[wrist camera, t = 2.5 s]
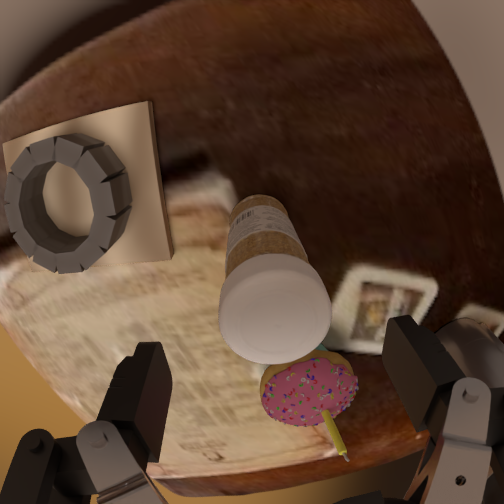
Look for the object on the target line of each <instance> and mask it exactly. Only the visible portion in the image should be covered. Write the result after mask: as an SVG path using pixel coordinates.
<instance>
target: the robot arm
mask: <svg viewBox="0 0 504 504" xmlns="http://www.w3.org/2000/svg"><path fill="white" fill-rule="evenodd" d="M382 359H383V364H384V367H385V369H386V371H387V373H388V375H389V377H390V379H391V381H392V383H393V385H394V387H395V389H396V391H397V393H398V395H399V397H400V399H401V401H402V403H403V405H404V407H405V409H406V411H407V413H408V415H409V417H410V419H411V422H412V424H413V426H414V428H415V430H416V432H420V431H423V430H426V429H428V431H429V433H430V435H429V437H428V440H427V443H426V446H425V449H424V452H423V455H422V458H421V461H420V464H419V467H418V469H417V472H416V475H415V477H414V480H413V482H412V484H411V486H410V488H409V489H408V491H407V493H406V495H405V497H404V499H397V498H383V497H382V494H381V491H380V490H378V491H375V492H371V493H367V494H363V495H359V496H355V497H350V498H346V499H343V500H341V501H338V502H336V503H334V504H481V502H482V498H483V500H484V504H504V344H503V343H502V342H501V341H500V340H499V339H498V338H497V337H496V336H495V335H494V333H493V332H492V331H491V330H490V329H489V328H488V327H487V326H486V325H485V324H484V323H481V324H478V323H476V322H475V321H474V320H471V319H459V320H456V321H453V322H451V323H449V324H447V325H446V326H444V327H443V328H441V329H440V330H439V331H438V332H436V333H435V334H434V333H433V332H432V331H430V330H429V329H427V328H426V327H424V326H418V325H417V323H416V322H415V321H414V319H413V318H412V317H411V316H410V315H404V316H399V317H393V318H390V319H389V320H388V323H387V328H386V334H385V339H384V344H383V350H382ZM109 386H110V388H108V390H107V393H106V395H105V398H104V401H103V403H102V406H101V409H100V411H99V414H98V417H97V419H96V421H93V422H90V423H88V424H86V425H85V426H84V427H83V428H82V429H81V430H80V431H79V433H78V435H77V436H73V437H66V438H57V439H54V437H53V436H52V435H51V434H50V433H49V432H48V431H46V430H44V429H34V430H31V431H29V432H27V433H26V434H25V435H24V436H23V437H22V438H21V440H20V442H19V444H18V447H17V449H16V452H15V454H14V457H13V459H12V462H11V465H10V468H9V470H8V473H7V476H6V478H5V481H4V484H3V487H2V490H1V493H0V504H90V500H91V495H92V494H99V497H97V503H98V504H168V502H167V501H166V500H165V498H164V497H163V496H162V494H161V493H160V492H159V490H158V488H157V487H156V486H155V484H154V483H153V481H152V480H151V478H150V477H149V475H148V474H147V472H146V468H147V463H148V462H154V463H159V458H160V452H161V446H162V440H163V435H164V429H165V424H166V418H167V413H168V408H169V403H170V398H171V393H172V375H171V371H170V368H169V365H168V362H167V359H166V356H165V353H164V350H163V347H162V344H161V343H160V342H139V343H138V345H137V347H136V350H135V352H134V355H133V356H126V357H125V358H124V359H123V360H122V362H121V363H120V364H119V365H118V366H117V368H116V370H115V373H114V375H113V379H112V380H111V383H110V385H109Z"/></svg>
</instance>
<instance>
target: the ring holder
mask: <svg viewBox="0 0 504 504" xmlns="http://www.w3.org/2000/svg"><path fill="white" fill-rule="evenodd" d="M3 151H4V158H5V164H6V170H7V176H8V177H7V183H6V189H5V195H4V200H5V201H7V202H9V203H7V204H5V205H4V207H5V211H6V215H7V219H8V223H9V227H10V231H11V232H15V231H17V232H16V233H15V235H14V236H13V237H14V239H15V240H16V242H17V243H18V244H19V246H20V247H21V248H22V250H23V251H24V252H25V254H26V255H27V258H28V261H29V264H30V267H31V270H32V272H41V271H52V272H54V273H55V272H56V271H57V270H58V273H59V274H64V273H76V272H83V271H84V270H87V269H88V268H89V267H97V266H109V265H120V264H131V263H142V262H154V261H165V260H171V259H172V257H173V255H174V251H173V246H172V241H171V235H170V229H169V224H168V218H167V212H166V205H165V199H164V193H163V186H162V179H161V172H160V165H159V158H158V150H157V142H156V134H155V125H154V116H153V106H152V102H150V101H145V102H140V103H135V104H131V105H126V106H122V107H118V108H113V109H109V110H105V111H101V112H97V113H94V114H90V115H86V116H83V117H79V118H76V119H72V120H69V121H66V122H62V123H59V124H56V125H53V126H50V127H47V128H44V129H41V130H38V131H35V132H32V133H30V134H27V135H24V136H22V137H19V138H16V139H14V140H11V141H9V142H6V143H4V144H3Z"/></svg>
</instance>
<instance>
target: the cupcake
mask: <svg viewBox="0 0 504 504" xmlns="http://www.w3.org/2000/svg"><path fill="white" fill-rule="evenodd" d="M357 381H358V380H357V376H354V373H353V370H352V368H351V365H350V364H349V362H348V361H347V360H346V359H344V358H343V357H342V356H341V355H340V354H338V353H335V352H331V351H328V350H327V349H326V348H325V347H324V346H323V345H322V344H321V343H320V344H319V345H318V346H317V347H316V348H315V349H314V350H313V351H311V352H310V353H308V354H307V355H305V356H303V357H301V358H299V359H297V360H295V361H292V362H288V363H283V364H272V365H271V366H269V367H268V368H267V369H266V370H265V372H264V374H263V376H262V378H261V383H260V396H261V402H262V405H263V407H264V409H265V411H266V412H267V414H268V415H269V416H270V417H271V418H274V419H275V420H276V419H277V420H279V421H280V422H284V424H286V423H287V424H290V425H294V426H304V427H307V426H311V425H318V424H319V423H322V422H325V423H326V425H327V428H328V430H329V432H330V435H331V437H332V439H333V442H334V444H335V446H336V449H337V451H338V453H339V455H343V456H344V457H345V460H346V461H349V459H348V458H347V455H346V454H345V453H346V452H347V450H346V448H345V445H344V443H343V441H342V439H341V437H340V434H339V432H338V430H337V428H336V426H335V423H334V421H333V419H332V418H335V417H336V415H337V414H340V413H341V412H342V411H344V410H345V408H346V407H347V406H348V405H349V406H350V403H349V402H351V401H352V400H353V399H354V397H355V394H356V392H355V391H356V390H358V389H357V388H358V386H357V385H358V384H357ZM349 406H348V407H349ZM277 420H276V421H277Z"/></svg>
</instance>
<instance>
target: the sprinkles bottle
mask: <svg viewBox="0 0 504 504" xmlns="http://www.w3.org/2000/svg"><path fill="white" fill-rule="evenodd" d="M229 225H230V230H229V235H228V243H227V252H226V262H225V273H226V280H225V282H224V284H223V287H222V289H221V294H220V301H219V328H220V331H221V334H222V337H223V339H224V340H225V342H226V343H227V344H228V346H229V347H230V348H231V349H232V350H233V351H234V352H235V353H237V354H238V355H240V356H241V357H243V358H245V359H247V360H249V361H252V362H256V363H261V364H283V363H288V362H292V361H295V360H297V359H299V358H301V357H303V356H305V355H307V354H308V353H310V352H311V351H313V350H314V349H315V348H316V347H317V346H318V345H319V344H320V343H321V342H322V340H323V339H324V338H325V336H326V334H327V332H328V330H329V327H330V324H331V319H332V306H331V302H330V298H329V296H328V293H327V291H326V289H325V286H324V284H323V282H322V280H321V278H320V276H319V275H318V273H317V272H316V271H315V270H314V268H312V267H311V266H310V264H309V262H308V259H307V255H306V253H305V251H304V249H303V246H302V244H301V242H300V240H299V238H298V236H297V234H296V232H295V229H294V227H293V225H292V223H291V221H290V220H289V218H288V213H287V211H286V209H285V208H284V206H283V205H282V204H281V203H280V202H279V201H278V200H277V199H275V198H273V197H271V196H267V195H260V194H258V195H252V196H248V197H246V198H245V199H243V200H241V201H240V203H238V204H237V205H236V206H235V208H234V210H233V211H232V214H231V217H230V223H229Z"/></svg>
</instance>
